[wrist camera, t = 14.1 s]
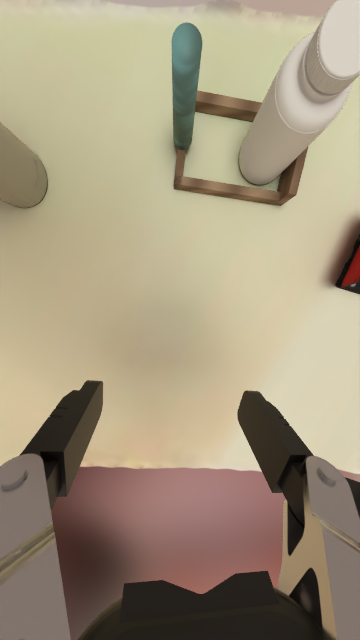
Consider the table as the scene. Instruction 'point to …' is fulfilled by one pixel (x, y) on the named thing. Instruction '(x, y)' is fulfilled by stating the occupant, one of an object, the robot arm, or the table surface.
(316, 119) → the pill bottle
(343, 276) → the handheld game console
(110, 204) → the table surface
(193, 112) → the brown wooden frame
